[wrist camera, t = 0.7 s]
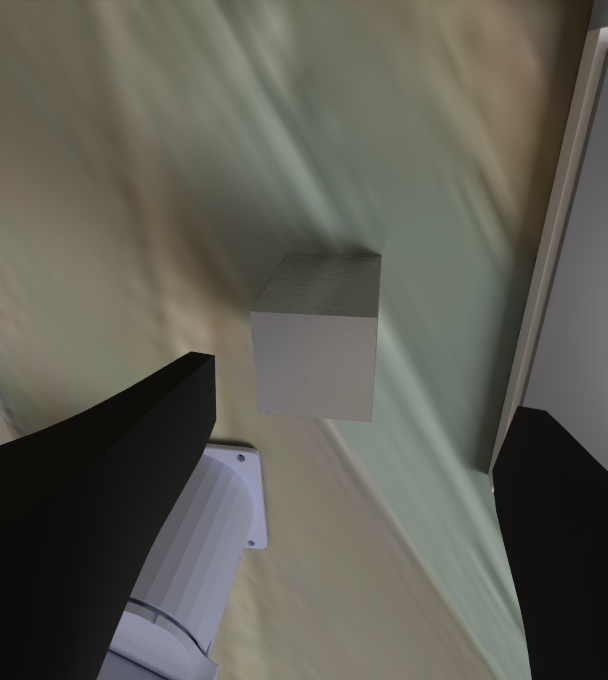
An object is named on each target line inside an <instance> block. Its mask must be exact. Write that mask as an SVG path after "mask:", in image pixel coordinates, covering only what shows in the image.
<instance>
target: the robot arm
mask: <svg viewBox="0 0 608 680" xmlns="http://www.w3.org/2000/svg"><path fill="white" fill-rule="evenodd" d="M215 422H216V385H215V355H210V354H204V353H198V352H192V351H191V352H189V353H187V354H186V355H184V356H182V357H180V358H178V359H177V360H175V361H173V362H172V363H170V364H168V365H167V366H165V367H163V368H162V369H160V370H158V371H157V372H155V373H153V374H152V375H150V376H148V377H147V378H145V379H143V380H141V381H140V382H138V383H136V384H135V385H133V386H131V387H129V388H128V389H126V390H124V391H122V392H120V393H118V394H116V395H114V396H113V397H111V398H109V399H107V400H105V401H103V402H101V403H99V404H97V405H95V406H94V407H92V408H90V409H88V410H86V411H84V412H82V413H80V414H77V415H75V416H73V417H71V418H69V419H67V420H64V421H62V422H60V423H57V424H55V425H52V426H50V427H48V428H45V429H43V430H41V431H38V432H36V433H33V434H30V435H28V436H25V437H22V438H19V439H16V440H14V441H11V442H8V443H5V444H2V445H0V680H215V679H216V676H217V673H218V669H219V666H218V664H216V663H214V662H213V661H211V660H210V659H208V658H209V655H210V652H211V649H212V646H213V643H214V640H215V637H216V634H217V630H218V627H219V624H220V621H221V618H222V615H223V612H224V609H225V606H226V603H227V600H228V597H229V593H230V590H231V587H232V584H233V581H234V578H235V575H236V572H237V569H238V566H239V563H240V560H241V556H242V553H243V550H244V547H247V548H254V549H264V548H265V547H266V546H267V542H268V537H267V527H266V516H265V506H264V495H263V485H262V474H261V463H260V455H259V452H258V451H257V450H255V449H253V448H248V447H238V446H228V445H218V444H208V440H209V438H210V435H211V433H212V430H213V427H214V425H215ZM239 454H240V455H243V456H244V457H242V456H240V455H239ZM492 476H493V487H494V497H495V505H496V512H497V517H498V521H499V525H500V529H501V533H502V537H503V542H504V546H505V550H506V554H507V558H508V562H509V566H510V570H511V574H512V578H513V582H514V585H515V589H516V593H517V597H518V601H519V605H520V610H521V615H522V619H523V624H524V629H525V635H526V642H527V649H528V656H529V663H530V669H531V676H532V680H608V471H607V470H606V469H605V468H604V467H603V466H602V465H601V464H600V463H599V462H598V461H597V460H596V459H595V458H594V457H593V456H592V455H591V454H590V453H589V452H588V451H587V450H586V449H585V448H584V447H583V446H582V445H581V444H580V443H579V442H578V441H577V440H576V439H575V438H574V437H573V436H572V435H571V434H570V433H569V432H568V431H567V430H566V429H565V428H564V427H563V426H562V425H561V424H560V423H559V422H558V421H557V420H556V419H555V418H554V417H552V416H551V415H550V414H549V413H548V412H547V411H546V410H541V409H535V408H529V407H523V406H517V408H516V411H515V413H514V416H513V418H512V421H511V423H510V426H509V429H508V431H507V434H506V436H505V439H504V441H503V444H502V446H501V449H500V451H499V454H498V456H497V459H496V461H495V464H494V467H493V469H492Z"/></svg>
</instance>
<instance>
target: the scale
mask: <svg viewBox="0 0 608 680" xmlns="http://www.w3.org/2000/svg"><path fill="white" fill-rule="evenodd" d="M517 406H523V407H529V408H535V409H541V410H546V411H547V412H548V413H549V414H550V415H551V416H552V417H554V418H555V419H556V420H557V421H558V422H559V423H560V424H561V425H562V426H563V427H564V428H565V429H566V430H567V431H568V432H569V433H570V434H571V435H572V436H573V437H574V438H575V439H576V440H577V441H578V442H579V443H580V444H581V445H582V446H583V447H584V448H585V449H586V450H587V451H588V452H589V453H590V454H591V455H592V456H593V457H594V458H595V459H596V460H597V461H598V462H599V463H600V464H601V465H602V466H603V467H604V468H605V469H606V470H607V471H608V0H594V5H593V9H592V13H591V18H590V22H589V27H588V31H587V36H586V40H585V45H584V49H583V54H582V58H581V62H580V67H579V71H578V76H577V80H576V85H575V89H574V94H573V98H572V103H571V107H570V111H569V116H568V120H567V125H566V129H565V134H564V138H563V143H562V147H561V152H560V156H559V160H558V165H557V169H556V174H555V178H554V183H553V187H552V192H551V196H550V200H549V205H548V209H547V214H546V218H545V223H544V227H543V232H542V236H541V241H540V245H539V249H538V254H537V258H536V263H535V267H534V272H533V276H532V281H531V285H530V290H529V294H528V298H527V303H526V307H525V312H524V316H523V321H522V325H521V330H520V334H519V339H518V343H517V347H516V352H515V356H514V361H513V365H512V370H511V374H510V379H509V383H508V387H507V392H506V396H505V401H504V405H503V410H502V414H501V419H500V423H499V428H498V432H497V436H496V441H495V445H494V450H493V454H492V459H491V463H490V468H489V472H488V478H489V483H490V487H491V491H492V492H494V487H493V476H492V469H493V467H494V464H495V461H496V459H497V456H498V454H499V451H500V449H501V446H502V444H503V441H504V439H505V436H506V434H507V431H508V429H509V426H510V423H511V421H512V418H513V416H514V413H515V411H516V408H517Z"/></svg>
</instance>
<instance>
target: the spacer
mask: <svg viewBox="0 0 608 680" xmlns="http://www.w3.org/2000/svg"><path fill="white" fill-rule="evenodd" d="M381 261H382V255H356V254H321V253H287V254H286V256H285V257H284V259H283V260H282V262H281V263H280V265H279V267H278V268H277V270H276V271H275V273H274V274H273V276H272V278H271V279H270V281H269V282H268V284H267V285H266V287H265V288H264V290H263V292H262V293H261V295H260V296H259V298H258V299H257V301H256V302H255V304H254V306H253V307H252V309H251V310H250V320H251V331H252V342H253V353H254V364H255V375H256V386H257V397H258V408H259V413H270V414H282V415H293V416H305V417H316V418H327V419H339V420H350V421H362V422H371V419H372V404H373V390H374V375H375V361H376V347H377V331H378V313H379V296H380V278H381Z"/></svg>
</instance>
